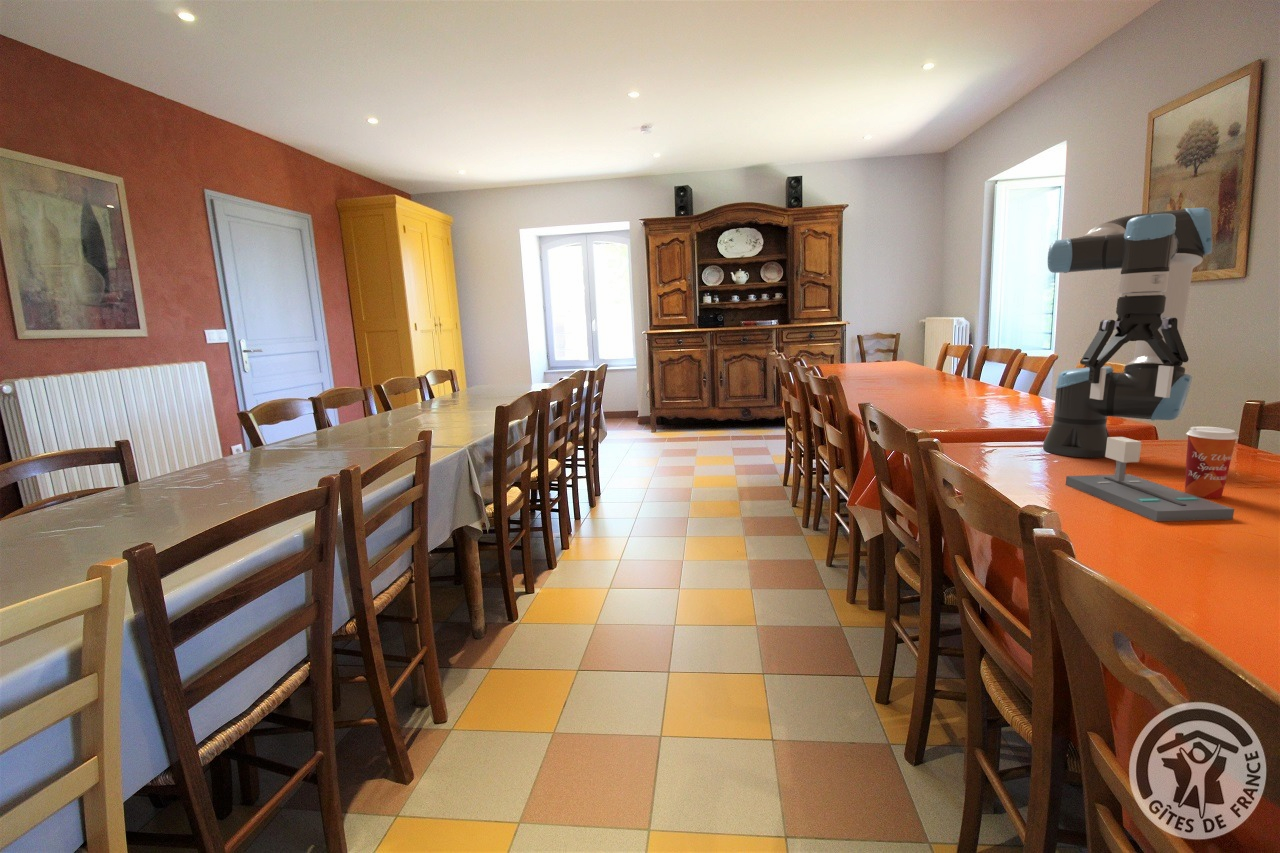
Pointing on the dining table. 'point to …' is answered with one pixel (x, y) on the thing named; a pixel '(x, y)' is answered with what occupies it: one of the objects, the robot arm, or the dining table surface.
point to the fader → (1122, 453)
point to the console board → (1150, 498)
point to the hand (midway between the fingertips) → (1129, 398)
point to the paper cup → (1208, 460)
